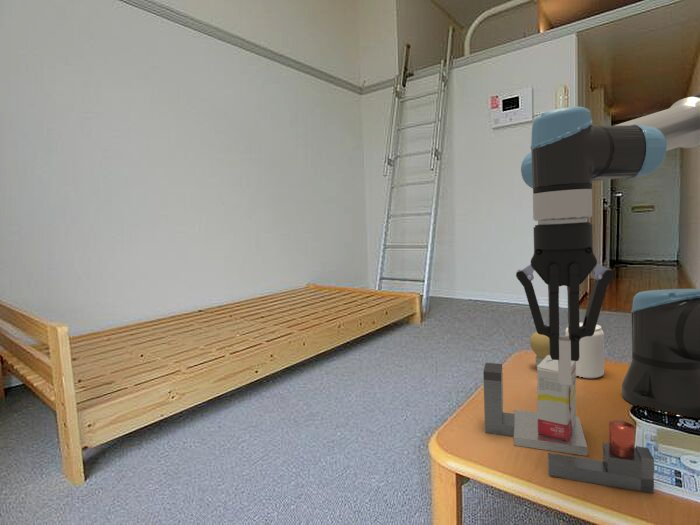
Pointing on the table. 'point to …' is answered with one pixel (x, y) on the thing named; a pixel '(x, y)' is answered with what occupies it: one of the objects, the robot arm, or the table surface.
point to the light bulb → (540, 346)
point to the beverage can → (591, 354)
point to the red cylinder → (621, 450)
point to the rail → (602, 471)
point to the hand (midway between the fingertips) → (564, 380)
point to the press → (522, 420)
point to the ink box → (555, 400)
